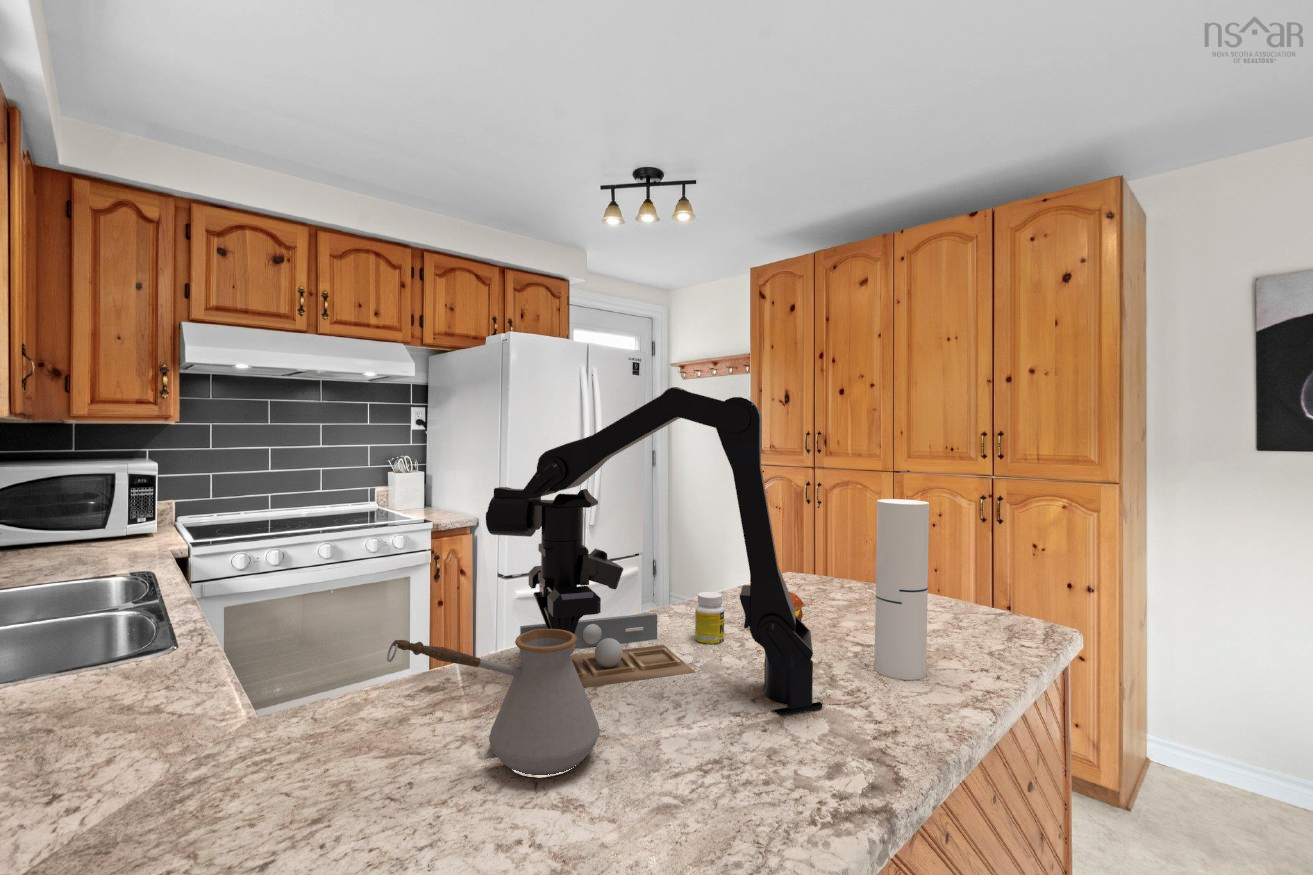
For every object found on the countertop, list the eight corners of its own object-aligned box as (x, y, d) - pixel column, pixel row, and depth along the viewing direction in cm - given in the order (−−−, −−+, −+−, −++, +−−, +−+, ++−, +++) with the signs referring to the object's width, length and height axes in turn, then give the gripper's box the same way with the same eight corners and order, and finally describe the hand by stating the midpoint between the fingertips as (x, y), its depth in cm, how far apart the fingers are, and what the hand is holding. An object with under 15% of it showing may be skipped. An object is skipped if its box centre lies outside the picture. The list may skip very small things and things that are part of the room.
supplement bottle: (725, 651, 100) (725, 598, 100) (695, 650, 100) (696, 597, 100) (722, 641, 105) (723, 590, 105) (694, 640, 105) (694, 590, 105)
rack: (695, 679, 88) (695, 667, 88) (539, 701, 80) (539, 688, 80) (663, 651, 100) (664, 641, 100) (524, 668, 92) (524, 657, 92)
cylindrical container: (931, 682, 89) (934, 505, 88) (878, 677, 90) (881, 503, 90) (920, 663, 96) (923, 500, 95) (871, 659, 97) (874, 498, 97)
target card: (657, 645, 102) (658, 614, 102) (521, 661, 94) (521, 628, 94) (654, 643, 103) (655, 612, 103) (519, 658, 95) (520, 626, 95)
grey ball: (626, 669, 89) (626, 641, 89) (598, 673, 87) (599, 644, 87) (617, 660, 93) (617, 633, 93) (591, 663, 91) (591, 636, 91)
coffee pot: (573, 724, 74) (575, 598, 74) (617, 770, 64) (619, 624, 64) (378, 771, 63) (379, 624, 63) (394, 835, 54) (396, 660, 53)
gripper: (639, 546, 82) (637, 666, 82) (599, 526, 99) (598, 624, 99) (554, 551, 77) (553, 677, 78) (528, 529, 95) (527, 632, 95)
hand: (561, 649), depth 87 cm, fingers closed on terracotta ball, 4 cm apart
